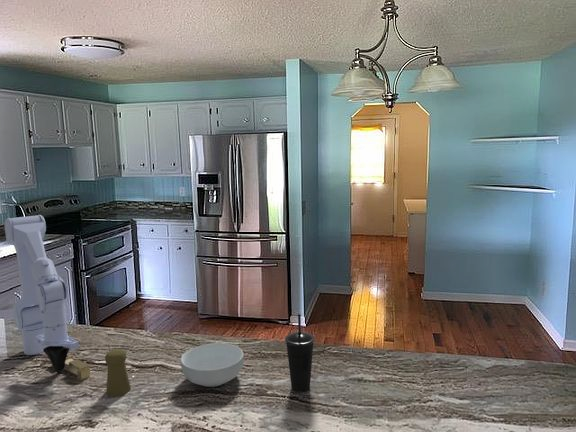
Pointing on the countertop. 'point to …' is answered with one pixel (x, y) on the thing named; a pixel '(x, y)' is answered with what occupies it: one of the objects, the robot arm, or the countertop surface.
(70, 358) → the link
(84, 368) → the keeper
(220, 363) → the cereal bowl
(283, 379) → the countertop surface
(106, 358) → the pepper mill
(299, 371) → the drinking cup
